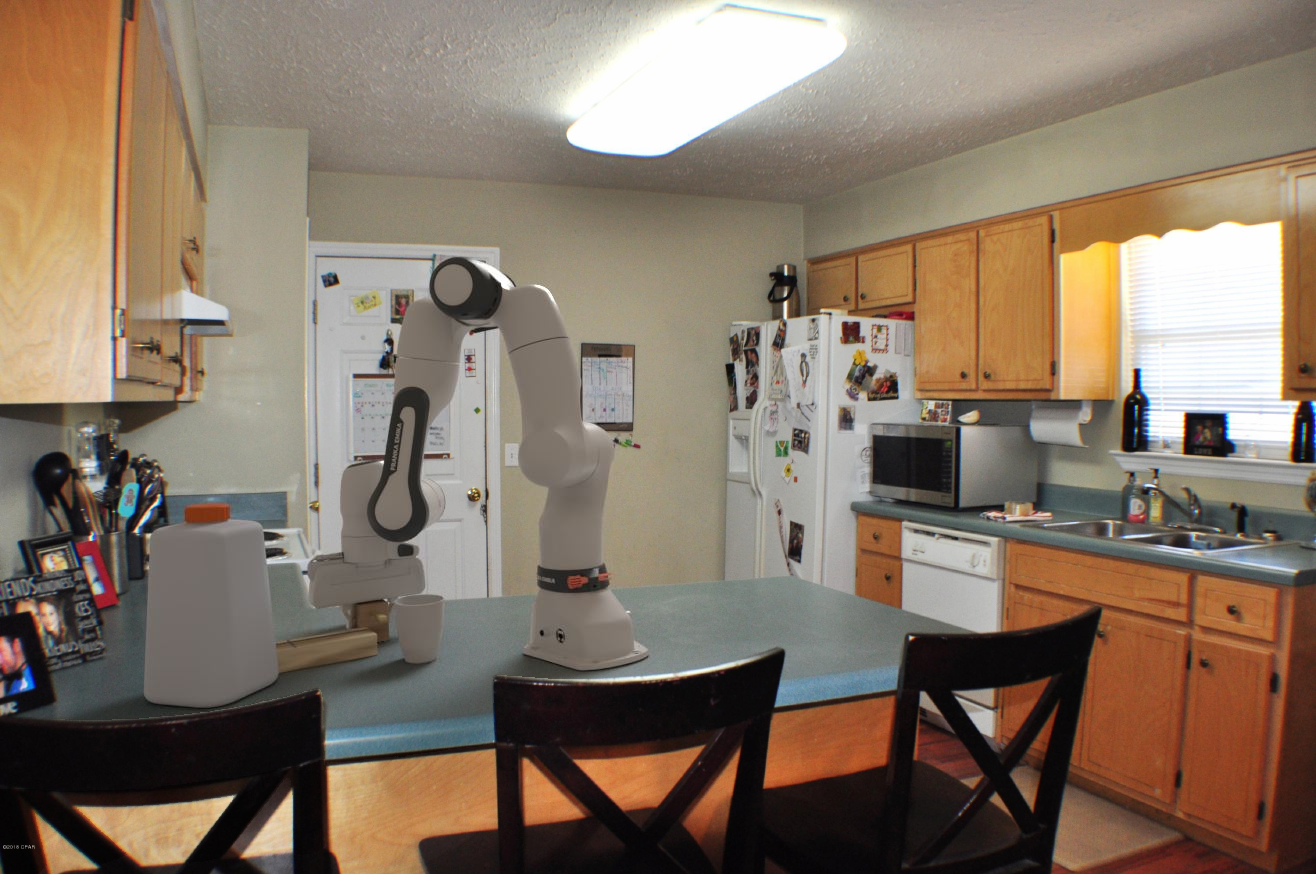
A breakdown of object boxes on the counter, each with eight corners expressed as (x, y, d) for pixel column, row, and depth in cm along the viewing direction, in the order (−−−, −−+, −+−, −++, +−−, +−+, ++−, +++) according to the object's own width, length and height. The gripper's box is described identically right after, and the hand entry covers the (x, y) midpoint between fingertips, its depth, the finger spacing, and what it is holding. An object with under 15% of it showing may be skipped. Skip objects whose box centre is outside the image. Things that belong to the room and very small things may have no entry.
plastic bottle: (291, 678, 133) (285, 500, 132) (218, 713, 118) (210, 512, 117) (210, 672, 137) (203, 498, 136) (129, 704, 122) (122, 510, 121)
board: (377, 654, 145) (377, 633, 145) (277, 673, 136) (276, 651, 135) (366, 646, 150) (366, 626, 150) (268, 664, 140) (268, 642, 140)
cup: (427, 649, 148) (425, 592, 148) (456, 657, 143) (454, 598, 142) (385, 660, 142) (384, 600, 141) (414, 669, 137) (413, 607, 136)
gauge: (398, 646, 150) (397, 607, 149) (370, 652, 147) (368, 611, 146) (378, 633, 159) (377, 596, 158) (351, 638, 156) (349, 600, 155)
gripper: (311, 558, 145) (314, 638, 146) (427, 545, 157) (429, 619, 158) (302, 553, 150) (304, 631, 151) (415, 541, 163) (417, 613, 163)
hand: (369, 625), depth 155 cm, fingers closed on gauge, 5 cm apart
